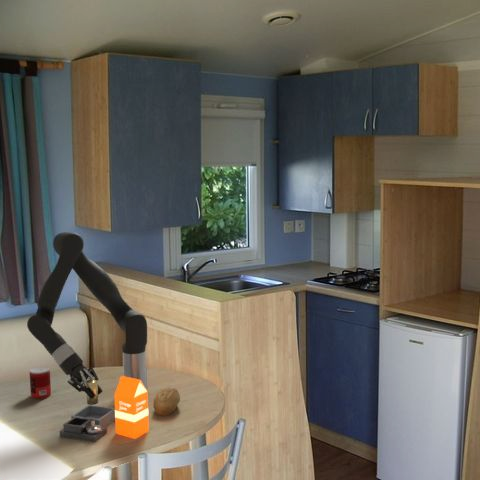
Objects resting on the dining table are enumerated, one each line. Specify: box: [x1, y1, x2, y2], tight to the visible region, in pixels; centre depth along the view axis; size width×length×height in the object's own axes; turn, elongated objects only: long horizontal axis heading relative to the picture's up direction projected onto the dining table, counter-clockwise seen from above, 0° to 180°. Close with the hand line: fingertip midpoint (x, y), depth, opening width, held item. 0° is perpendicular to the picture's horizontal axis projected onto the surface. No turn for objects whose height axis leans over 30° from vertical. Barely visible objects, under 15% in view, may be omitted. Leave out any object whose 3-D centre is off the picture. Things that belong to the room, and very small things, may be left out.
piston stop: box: [86, 380, 99, 406], centre depth 260 cm, size 4×4×8 cm
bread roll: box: [152, 387, 181, 417], centre depth 273 cm, size 10×15×8 cm, turn 174°
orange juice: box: [113, 375, 150, 440], centre depth 252 cm, size 8×9×20 cm
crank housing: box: [58, 417, 108, 443], centre depth 251 cm, size 8×14×6 cm, turn 69°
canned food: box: [29, 365, 52, 400], centre depth 289 cm, size 8×8×11 cm
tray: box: [70, 404, 115, 427], centre depth 262 cm, size 12×12×4 cm
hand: (97, 394), depth 260 cm, fingers closed on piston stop, 4 cm apart
